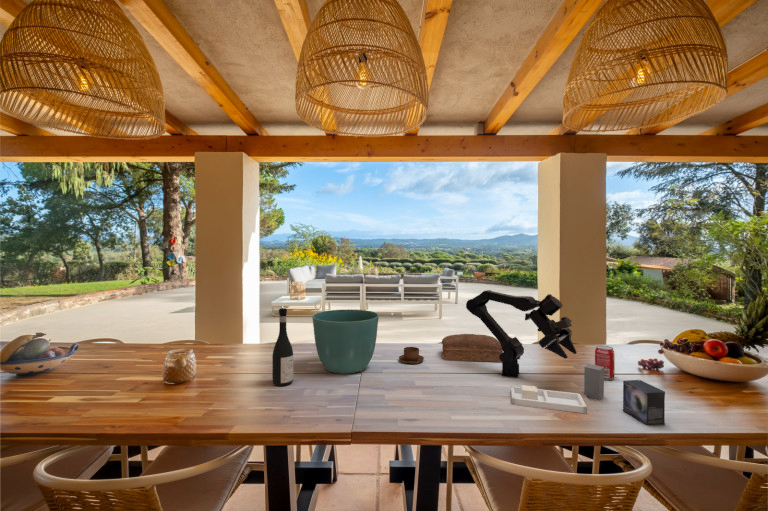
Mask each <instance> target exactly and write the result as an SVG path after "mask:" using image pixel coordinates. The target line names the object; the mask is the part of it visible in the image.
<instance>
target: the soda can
mask: <svg viewBox="0 0 768 511" xmlns="http://www.w3.org/2000/svg"><path fill="white" fill-rule="evenodd" d="M594 365H596V366H601V367H604V381H612V380H614V379H615V370H616V369H615V368H616V367H615V350H614V347H612V346H609V345H596V346H595V350H594Z"/></svg>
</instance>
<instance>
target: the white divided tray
mask: <svg viewBox="0 0 768 511" xmlns="http://www.w3.org/2000/svg"><path fill="white" fill-rule="evenodd" d="M537 391H538V400H531V399H522V386H514V385H511V386H510V393H511V394H510V396H511V405H514V406H523V407H529V408H539V409H546V410H554V411H563V412H571V413H579V414H588V406H587V404H586V403H585V401H584V399H583V397H582V395H581V394H580V393H577V392H569V391H560V390H559V391H558V390H552V389H551V390H549V389H540V388H537Z"/></svg>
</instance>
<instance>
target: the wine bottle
mask: <svg viewBox="0 0 768 511" xmlns="http://www.w3.org/2000/svg"><path fill="white" fill-rule="evenodd" d="M287 312H288V309H287V308H282V307H281V308H279V309H278V315H279V316H278V317H279V321H278V322H279V329H278V330H279V331H278V332H279V333H278V337H277V338H276V342H275V344H274V346H273V350H272V363H271V364H272V366H271V367H272V370H271V371H272V384H273V385H275V386H278V387H284V386H289V385H292V383H293V382H294V351H293V347H292V344H291V342H290V339H289V336H288V332H287V314H288V313H287Z"/></svg>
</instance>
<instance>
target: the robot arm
mask: <svg viewBox="0 0 768 511" xmlns="http://www.w3.org/2000/svg"><path fill="white" fill-rule="evenodd" d="M489 301H491V302H492V301H493V302H497V303H501V304H505V305H510V306H511V307H513V308H515V309H517V310H519V311H521V312H527V313H525V316H524V321H530V320H531V321H532V322H533V324H534V325H535V326H536V327H537V329H536V331H537V332H541V333H542V334H543V337H542V338H540V340H538V341H539V344H538V345H539V346H540V347H541V349H545V350H547V351H549V352H552V353H554V354H555V355H557V356H559V357H561V358H563V359H565V360H566V359H568V357H569V356H568V355H567V353H566V352H565V350H564V349H563V348H565V349H567V351H569V352H570V353H572V354H574V355H576V354H577V353H578V352H577V350H576V348H575V345H574V343H573V340H572V336H573V333H572V332H573V331H572V330H571V329H570V327H572V326H573V325H572V320H571V319H570V318H569V317H568V316H563V317H560V320H558V321H555V319H550V318H549V317H548V316H551V317H552V316H553V315H554V314H556V313H557V312H558V311H559V310H561V309H562V308H563V307H564V306H563V303H562V301H560V300H559V299H558V298H557V297H555V296H553V295H552V294H549V293H548V294H547V295H546V296H544V298H543V299H542V300H537V299H535V297H533V296H531V295H530V296H529V295H528V296H527V295H522V296H521V295H511V294H507V293H502V292H497V291H495V290H494V291H493V290H490V289H488V290H483V291H482V292H481V293H479V294H478V295H476V296H474V297H472V298H471V299H468V300H467V301H466V304H465V307H466V308H465V309H467V311H469V312H470V314H471V315H473V316H475V317H476V318H479V320H480V321H481V322H482V323H483V325H484V326H486V328H487V329H488V330H489V332H491V334H492V335H493V336H494V338H495V339H497V340H498V341H499V342H500V344H501V347H502V350H503V353H502V354H501V355H500V356H499V358H500V361H502V362H501V364H502V366H501V376H503V377H504V376H505V377H512V378H519V374H520V363H519V360H520V359H521V357H522V356H523V355H524V352H525V348H524V346H523V343H522V342H521V341H520V340H519V339H518V338H517V336H515V337H511V336H509V335H508V333H507V332H506V331H505V330H504V329H503V327H502V326H501V325H500V324H499V323H498V322H497V320H495V318H494V317H493V316H492V315H491V314H490V313H489V312H488V308H487V304H488V303H489ZM529 311H530V312H529Z"/></svg>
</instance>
